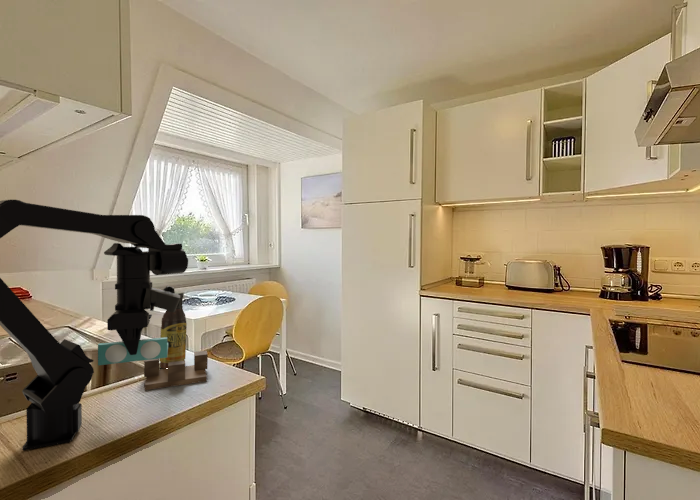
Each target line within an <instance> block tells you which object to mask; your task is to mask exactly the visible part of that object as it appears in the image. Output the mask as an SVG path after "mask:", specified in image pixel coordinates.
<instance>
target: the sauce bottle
mask: <svg viewBox="0 0 700 500" xmlns="http://www.w3.org/2000/svg"><path fill="white" fill-rule="evenodd" d="M175 294H178V295H180V300H179V303H178V305H177V308H176V310H175V312H169V311H167V310H165V312H164V313H163V316H162V317H161V326H160V337H159V338H164V337H167V343H168V354H167V358H159V368H161V369H166V368H168V362H176V361H185V362H186V352H187V351H186V350H187V349H186V348H187V325H188V323H187V319H186V318H187V317H186V314H185V312H184V308H183V307H184V306H183V301H184V300H183V298H184V292H183V291H175Z"/></svg>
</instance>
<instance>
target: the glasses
mask: <svg viewBox="0 0 700 500" xmlns="http://www.w3.org/2000/svg"><path fill="white" fill-rule="evenodd" d="M167 354H168V343H167V337H164V338H160V337H156V338H155V337H153V338H143V339H140V340H139V345H138V350H137V354H136V355H130V354H129V352H128V350H127V348H126V346H125V345H124V343H123V341H122V340H121V341H111V342H102V343H101V342H100V343H98V344H97V366H104V365H105V366H106V365H114V364H123V363H130V362H131V363H132V362H140V361H141V362H142V361H145V360H150V359H159V360H160V358H167Z"/></svg>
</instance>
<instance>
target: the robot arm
mask: <svg viewBox="0 0 700 500" xmlns="http://www.w3.org/2000/svg"><path fill="white" fill-rule="evenodd" d="M19 226H22V227H30V228H38V229H39V228H40V229H47V230H48V229H49V230H57V231H66V232H72V233H83V234H90V235H96V236H99V237H101V238H103V239H107V240H111V241H114V243H113V244H112V245H111V246H110V247H109V248H107V250H105V251H104V252H103V254H104V255H106V256H114V257H115V256H116V283H115V284H114V290H116V304H115V305H114V312H113V313H112V314H110V316H109V317H108V319H107V321H106V322H107V323H106V324H107V330H108V331H116V333H117V334H118V336H119V337H120V340H121V341H123V343H124V345H125V346H126V348H127V350H128V352H129V354H130V355H136V354H137V350H138V345H139V340H141V338H142V333H143V329H144V328H147V327H149V324H150V322H151V318H152V316H153V315H152V314H150V312H148V311H147V310H150V311H151V312H153V311H154V310H155V308H159V309H162V310H165V311H169V312H175V310H176V308H177V305H178V303H179V300H180V295H178V294H175V292H176V291H175V287H174V286H170V285H166V286H165V287H164V288H162V289H161V288H156V287H153V281H152V280H151V272H152V274H153V275H154V276H163V275H165V276H166V275H175V274H176V275H177V274H183V273H185V272H186V271H187V269H188V268H189V267H188V266H189V258H188V256H187V253H186V251H185V250H184V249H183V243H178V242H177V243H175V242H174V243H169V244H166V243H165V242H164V240H163V239H162V237H161V236H160V234H159V233H158V232H157V231H156V229H155V228H156V227H155V224H154V222H153V221H152V219H151V218H150V217H149V216H146V215H142V214H98V213H91V212H86V211H79V210H73V209H68V208H61V207H54V206H49V205H41V204H36V203H30V202H25V201H22V200H20V199H19V200H18V199H3V200H0V239H1V238H3V237H4V236H6V235H7V234H8V233H10V232H11V231H13V230H15V229H16V228H17V227H19ZM117 242H118V243H117ZM122 243H123V244H130V245H132V246H123V245H122ZM142 249H148V250H147V251H143V250H142ZM0 327H1V329H3V330H4V331H5V332H6V333H7V334H8V335H9V336H10V337H11V338H12V339H13V340H14V341H15V342H16V343H17V345H19V346H20V348H22V350H24V351H25V352H26V354H27V355H28V358H29V360H30V362H31V364H32V368H33V369H34V371H35V372H36V374H37V375H36V376H35V377H34V378H33V379H32V380H31V381H30V382H29V383H27V385H26V386H25V387H24V388H23V389H22V390H21V392H22V394H23V396H24V397H25V399H26V401H29V402H31V403H30V404H29V405H28V406H27V408H26V441H25V442H24V444H23V445H22V447H21V449H22V451H26V450H27V451H29V450H33V449H38V448H43V447H44V448H45V447H50V446H54V445H60V444H66V443H70V442H72V441H73V439H74V438H75V436H76V434H77V433H78V432H79V431H80V429H81V427H82V423H83V421H82V418H83V417H82V412H83V410H82V403H81V399H82V397H83V394H84V392H85V389H86V387H87V386H88V385H90V382H91V381H92V379H93V375H94V373H95V369H94V367H93V366H92V364H91V363H93V362H94V361H95V360H94V359H92V358H90V357H88V356H87V355H86V353H85V352H84V350H83V348H82V346H81V345H80V344H77V343H76V342H73V341H70V340H68V339H63V340H62V341H61V342H60V341H58V340H57V339H56V338H55V337H54V336H53V335H52V333H51V332H50V331H49V330H48V329H47V327H45V325H43V323H42V322H41V321H40V320H39V319H38V318H37V316H35V315H34V313H33V312H32V311H31V310H30V308H29V307H27V305H26V304H25V303H24V302H22V300H21V299H20V298H19V297H18V296H17V294H16V293H14V291H13V290H12V289H11V288H10V287H9V286H8V284H7V283H6V282H5V281H4V280H3V279H2V278H1V277H0Z"/></svg>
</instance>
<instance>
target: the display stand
mask: <svg viewBox="0 0 700 500" xmlns="http://www.w3.org/2000/svg"><path fill="white" fill-rule="evenodd" d="M193 352H194V356H193V360H194V361H193V365H186V360H185V361H176V362H168V369H163V368H161V369H160V358H159V359H150V360H143V361H144V363H143V365H144V366H143V368H144V370H143V371H144V372H143V376H144V378H145V381H144V391H150V390H156V389H161V388H169V387H175V386H183V385H189V384H190V385H191V384H196V383H205V382H207V379H208V377H207V371H206V370H208V358H209V357H208V354H209V353H208V351H207V350H200V351H193Z"/></svg>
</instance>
